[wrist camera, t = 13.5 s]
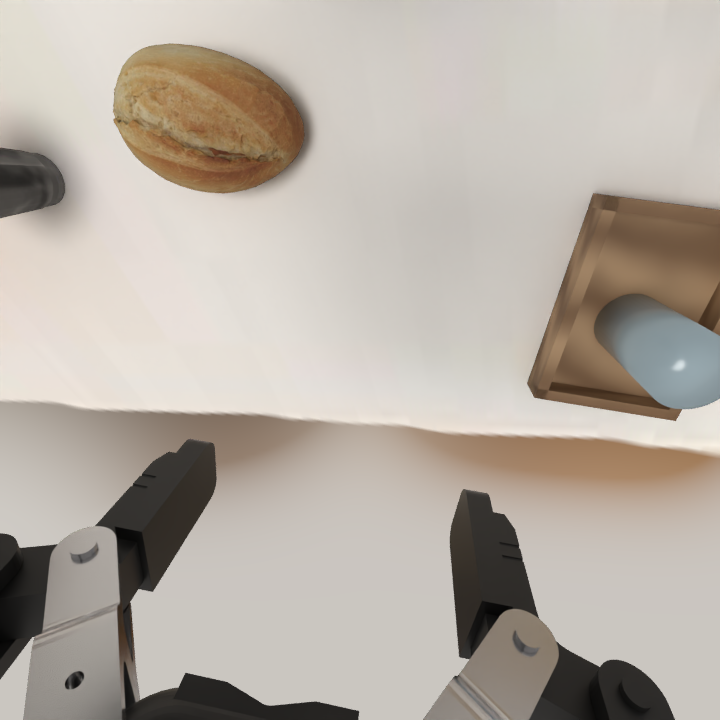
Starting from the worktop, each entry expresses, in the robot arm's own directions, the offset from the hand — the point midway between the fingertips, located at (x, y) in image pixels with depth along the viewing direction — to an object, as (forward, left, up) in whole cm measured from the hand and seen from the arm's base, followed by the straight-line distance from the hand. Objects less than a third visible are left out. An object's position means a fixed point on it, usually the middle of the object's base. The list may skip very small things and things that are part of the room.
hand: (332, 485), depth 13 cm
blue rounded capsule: (+1, +22, -27) cm, 35 cm away
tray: (0, +22, -28) cm, 36 cm away
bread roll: (-10, -16, -28) cm, 34 cm away
